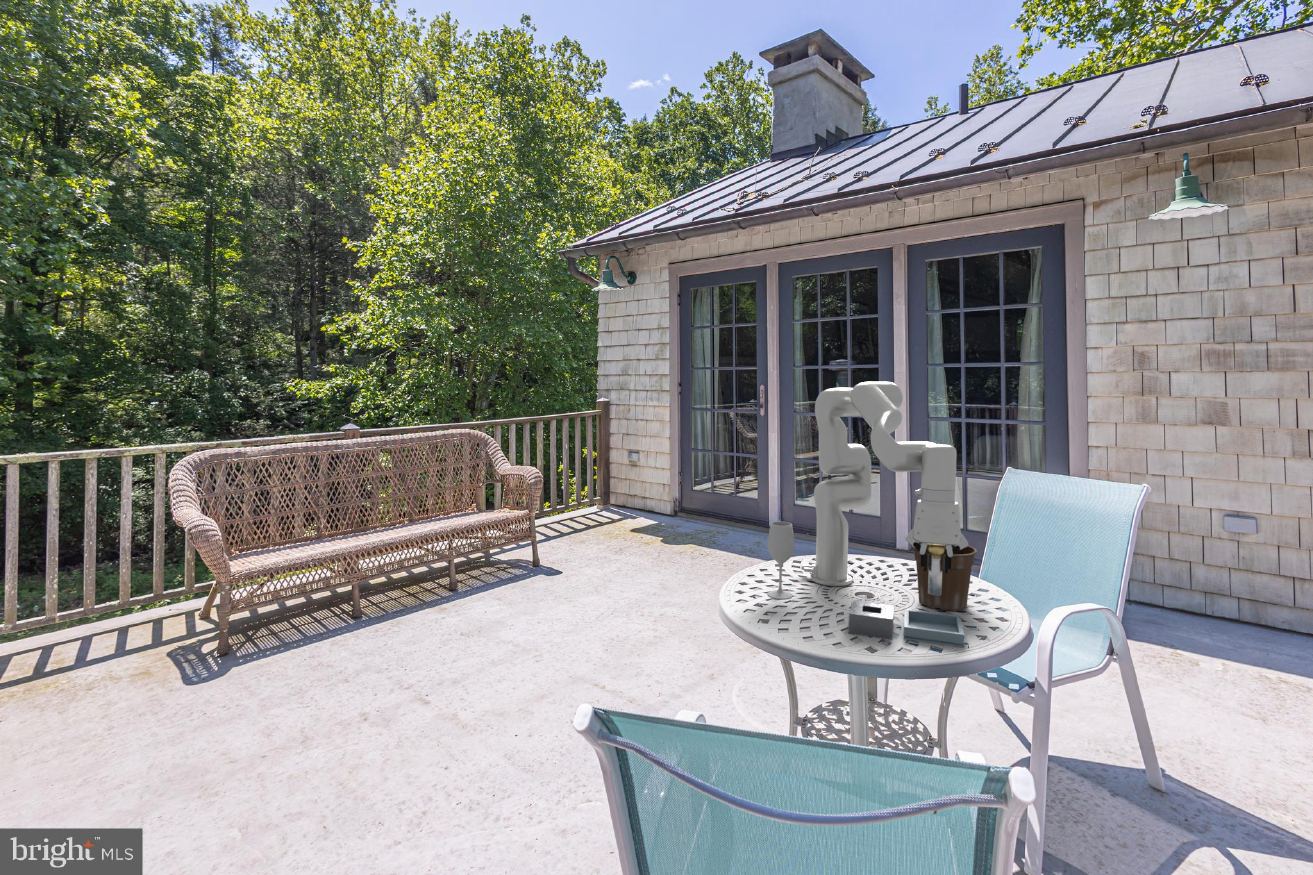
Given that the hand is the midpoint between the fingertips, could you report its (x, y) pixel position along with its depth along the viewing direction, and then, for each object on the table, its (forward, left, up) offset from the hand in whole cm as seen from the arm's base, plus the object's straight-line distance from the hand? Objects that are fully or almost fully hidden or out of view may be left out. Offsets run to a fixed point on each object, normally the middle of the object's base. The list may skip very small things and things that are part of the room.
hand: (935, 569), depth 151 cm
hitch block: (-14, -3, -16) cm, 21 cm away
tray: (0, 0, -16) cm, 16 cm away
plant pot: (+3, +24, -16) cm, 29 cm away
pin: (0, 0, -6) cm, 6 cm away
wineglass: (-40, +14, -16) cm, 45 cm away
